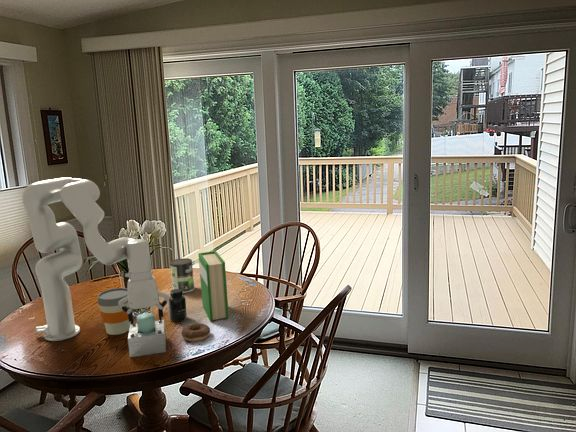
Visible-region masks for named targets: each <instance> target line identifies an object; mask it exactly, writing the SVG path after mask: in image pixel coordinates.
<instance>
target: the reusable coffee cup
mask: <svg viewBox="0 0 576 432" xmlns="http://www.w3.org/2000/svg"><path fill="white" fill-rule="evenodd" d="M126 296H128V290H127V288H126V287H118V288H117V287H116V288H110V289H106V290H104V291H101V292H100V293H98V295H97V304H98V306H99V314H100V319H101V320H102V322H103V324H104V327H105V330H106V334H108V335H111V336H112V335H113V336H116V335H122V334H124V333H127V332H129V329H130V324H131V321H130V322H129V319H128V314H127V313H126V312H125V311H123V310H122V308H121V307H120V306H119V305H118V302H119V301H120V300H122V299H123V298H125V297H126ZM123 304H124V305H125V306H126V307H129V303H128V301H126V302H125V303H123Z"/></svg>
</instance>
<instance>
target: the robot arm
mask: <svg viewBox="0 0 576 432" xmlns="http://www.w3.org/2000/svg"><path fill="white" fill-rule="evenodd" d="M100 195H101V191H100V188H99V187H98V185H97V184H96V183H95V182H94V181H92V180H90V179H84V178H83V179H82V178H76V177H74V178H72V177H59V178H58V177H57V178H53V179H45V180H40V181H36V182H33V183H30V184H29V185H28V186H26V187H25V189H24V191H23V192H22V203H23V204H22V205H23V207H24V209H25V212H26V213H27V217H28V220H29V226H30V228H31V229H30V230H31V235H32V238H33V239H32V240H33V242H34V243H33V244H34V246H35V249H36V251H38V252H39V253H41V254H42V253H43V254H46V253H51V252H53V251H57V250H59V251H57V252H55V253H51V254H49V255H46V256H45V257H42V258H41V259H39V260H38V261H37V262H36V264H35V267H34V268H35V269H34V271H35V274H36V277H37V280H38V283H39V286H40V289H41V296H42V301H43V302H42V303H43V308H44V314H45V319H46V320H45V321H46V324H45V325H39V326H35V332H37V334H42V333H44V334H43V336H44V337H43V338H44V339H45V340H46V341H51V342H58V341H59V342H60V341H65V340H68V339H71V338H73V337H75V336H77V335H78V334H79V333H80V332H81V327H80V326H79V325H77V324H76V323H75V316H74V310H73V302H72V295H71V290H70V286H69V285H68V283H67V282H66V281H65V279H64V278H65V277H66V276H69V275H71V274H74V273H76V272H77V271H79V270H80V269H81V267H82V265H83V257H82V253H81V252H82V251H81V247H80V241H79V237H78V232H77V230H76V228H75V227H74V226H73V225H72V224H71V223H69V222H66V221H61V222H57V220H56V216H55V213H54V211H53V210H52V208H51V207H50V206H49V205H50V204H54V203H58V202H62V204H64V206H65V208H66V209H68V211H70V213H71V214H72V215H73V216H74V217H75V219H76V220H77V221H78V222H79V224H80V225H81V226H82V227H83V238H84V243H85V245H86V247H87V249H88V250H89V251H90V253H91V254H92V255H93V257H95V259H96V260H97V261H99V263H101V264H102V265H105V266H111V265H114V264H116V263H119V262H121V261H124V260H127V266H128V272H126V273H124V278H129V279H128V280H127V290H128V296H126V297H125V298H123V299H122V300H120V301H119V302H118V305H119V306H120V307H121V308H122V310H123V311H125V312H126V313H127V314H128V319H129V322H130V321H131V325H132V324H133V323H135V319H134V314H133V313H134V312H133V310H138V309H146V308H153V307H157V308H158V310H157V311H158V312H157V313H158V320H163V319H162V318H163V317H164V310H163V309H164V307H166V305H167V304H168V300H169V298H170V295H169V294H168V293H164V292H162V291H160V290H158V285H157V281H156V278H155V276H154V275H153V270H152V269H153V268H152V262H151V254H150V251H151V250H150V244H149V241H148V240H146V239H143V238H136V239H135V238H132V237H127V236H123V237H120V238H117V239H113V240H111V241H107V240H105V239H104V238H103V237H102V235H101V233H100V231H99V227H98V225H99V224H100V223H101V222H102V221H103V219H104V217H105V211H104V210H103V209H102V207H100V205H99V204H98V203H97V202H96V201H98V199H99V198H100ZM160 297H161V298H164V300H163V301H162V302H161V301H160ZM126 301H128V303H129V307H126V306H125V305H124V304H123V303H125V302H126Z"/></svg>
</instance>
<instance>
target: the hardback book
mask: <svg viewBox="0 0 576 432" xmlns="http://www.w3.org/2000/svg"><path fill="white" fill-rule="evenodd" d="M198 264H199V277H200V287H201V288H200V289H201V302H202V308H203V310H204V312H205V314H206V316H207V318H208V320H209V322H210V323H214V320H219V319H226V320H230V318H229V316H230V315H229V314H230V313H229V302H228V301H229V299H228V288H227V287H228V286H227V275H226V274H227V272H226V261H225V260H224V259H223V257H221V255H220V254H219V253H218V252H217V251H216V250H213V251H206V252H198Z"/></svg>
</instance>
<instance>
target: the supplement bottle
mask: <svg viewBox="0 0 576 432" xmlns="http://www.w3.org/2000/svg"><path fill="white" fill-rule="evenodd" d="M186 300H187V299H186V297H185V296H184V293H183V292H182V290H181V289H174V290H173V289H171V290H170V295H169V299H168V301H167V303H168V311H169V312H168V313H169V319H170V321H171V322H182V321H185V320H186V319H187V317H188V316H187V315H188V313H187V301H186Z"/></svg>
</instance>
